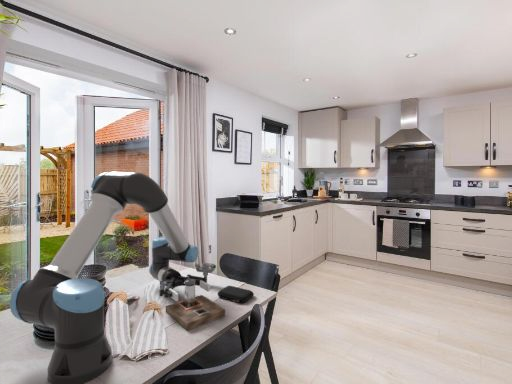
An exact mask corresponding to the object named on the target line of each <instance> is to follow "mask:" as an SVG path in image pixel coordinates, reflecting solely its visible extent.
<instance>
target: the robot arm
mask: <svg viewBox="0 0 512 384" xmlns="http://www.w3.org/2000/svg"><path fill="white" fill-rule="evenodd" d="M90 188H91V189H90V193H91V195H90V200H91V203H90V204H89V206H88V207H87V210H86V211H85V212H84V213H83V215H82V217H81V218H80V219H79V221H78V223H77V224H76V225H75V227H74V228H73V230H72V231H71V232H70V234H69V235H68V237H67V238H66V240H65V242H64V243H63V244H62V246H61V247H60V249H59V250H58V251H57V252H56V254H55V256H54V257H53V258H52V261H50V263H49V264H48V265H46V266H43V267H40V268H39V269H38V270H37V272H36V274H35V275H34V276H33V277H30V278H27V279H25V280H23V281H22V282H20V283H19V284H17V286H16V287H15V288H14V289H13V291H12V293H11V295H10V299H9V308H10V312H11V314H12V316H13V317H15V318H16V319H17V320H20V321H22V322H23V323H27V324H29V325H30V324H33V325H34V324H35V325H38V326H42V327H46V328H50V329H53V330H54V348H53V351H52V354H51V358H50V359H49V363H48V366H47V380H48V381H49V383H50V384H84V383H86V382H89V381H91V380H94V379H95V378H97V377H98V376H100V375H101V374H102V373H104V372H105V371H106V370H108V368H109V366H110V365H111V364H112V360H113V351H112V348H111V346H110V343H109V340H108V339H107V338H108V337H107V336H106V333H105V308H106V307H105V306H106V305H105V303H106V302H105V300H106V296H105V292H104V291H105V290H104V286H103V285H102V283H101V282H100V281H99V280H96V279H93V278H86V277H83V278H80V277H79V275H80V273H81V272H82V271H83V268H84V267H85V265H86V263H87V261H88V260H89V259H90V257H91V255H92V254H93V252H94V250H95V248H96V247H97V245H98V244H99V242H100V240H101V239H102V237H103V235H104V234H105V232H106V230H107V229H108V227H109V226H110V224H111V223H112V221H113V219H114V218H115V216H116V215H118V214H121V213H122V212H124V209H125V208H126V207H127V205H137V206H139V207H141V209H143V212H144V213H147V214H149V215H150V218H152V220H153V221H154V223H155V225H156V226H157V228H158V230H159V231H160V232H161V235H162V236H163V237H156V238H154V239H152V245H151V246H152V247H151V254H152V255H151V258H152V259H151V261H152V262H151V264H150V266H149V268H148V272H149V274H150V275H151V276H152V278H154V279H155V280H157V281H158V282H159V297H163V296H164V298H167V299H168V298H171V299H172V300H174V301H175V302H179V293H178V292H177V291H175V290H174V288H177V287H181V286H182V287H185V280H186V279H195V287H196V286H199V288H201V289H203V290H204V291H206V292H210V291H211V289H210V288H211V285H210V284H209V283H208V282H207V283H206V278H204V276H198V275H197V276H196V275H191V274H186V276H182V274H181V273H180V271H178V270H176V269H175V268H173V267H170V261H175V262H183V263H195V262H196V261H197V260H198V258H199V248H198V246H196V245H194V244H190V243H189V240H188V239H187V237H186V235H185V233H184V232H183V229H182V228H181V226H180V225H179V223H178V220H177V219H176V217H175V215H174V213H173V212H172V210H171V208H170V206H169V204H168V203H169V198H168V197H167V194H166V193H165V191H164V190H163V189H162V187H161V186H160V185H159V184H158V183H157V181H155V180H154V179H153V178H151V177H150V176H149V175H146V174H145V173H143V172H142V173H141V172H136V171H134V172H132V171H131V172H129V171H127V172H125V171H107V172H102V173H100V174H98V175H97V176H96V177H95V178H94V179H93V181H92V183H91V185H90ZM165 287H166V288H165Z"/></svg>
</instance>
